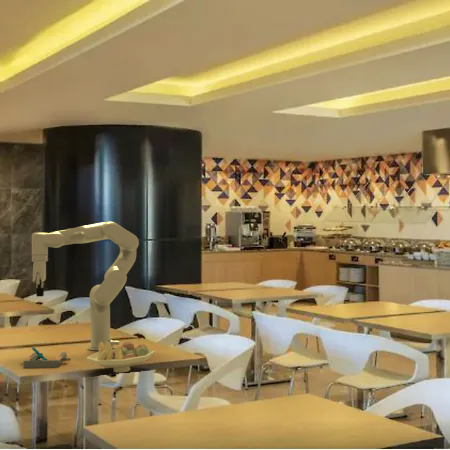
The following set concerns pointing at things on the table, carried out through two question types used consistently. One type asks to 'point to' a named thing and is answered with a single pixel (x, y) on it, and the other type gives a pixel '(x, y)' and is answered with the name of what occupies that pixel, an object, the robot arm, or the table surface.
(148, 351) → the dish with food
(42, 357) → the gear
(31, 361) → the rail
